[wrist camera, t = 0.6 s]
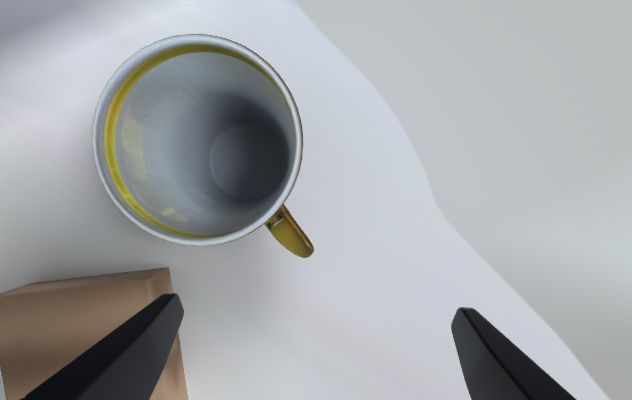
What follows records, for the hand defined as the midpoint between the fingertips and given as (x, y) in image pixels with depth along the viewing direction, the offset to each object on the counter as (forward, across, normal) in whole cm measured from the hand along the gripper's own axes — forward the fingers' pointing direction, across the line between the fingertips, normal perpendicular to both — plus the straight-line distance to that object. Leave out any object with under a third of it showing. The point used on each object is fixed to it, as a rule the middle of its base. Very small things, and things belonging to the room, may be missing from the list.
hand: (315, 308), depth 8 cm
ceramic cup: (+15, +5, +2) cm, 16 cm away
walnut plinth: (+7, +18, +15) cm, 25 cm away
